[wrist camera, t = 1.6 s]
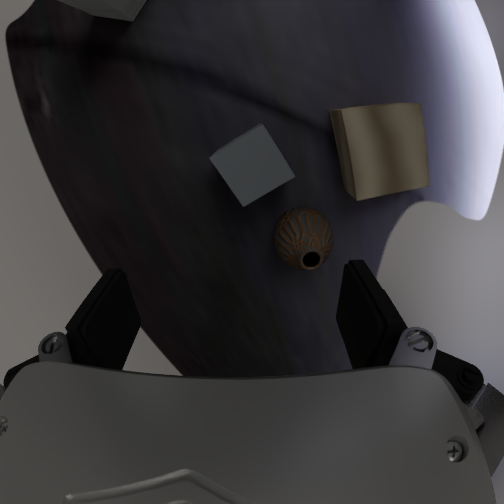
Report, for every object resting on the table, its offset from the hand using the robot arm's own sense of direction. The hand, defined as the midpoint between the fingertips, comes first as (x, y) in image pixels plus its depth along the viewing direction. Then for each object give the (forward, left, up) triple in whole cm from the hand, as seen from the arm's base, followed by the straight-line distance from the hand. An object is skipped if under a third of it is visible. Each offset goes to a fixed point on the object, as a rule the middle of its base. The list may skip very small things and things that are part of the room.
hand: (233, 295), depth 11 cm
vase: (-4, +8, -23) cm, 25 cm away
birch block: (-16, 0, -23) cm, 28 cm away
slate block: (-1, -2, -23) cm, 23 cm away
